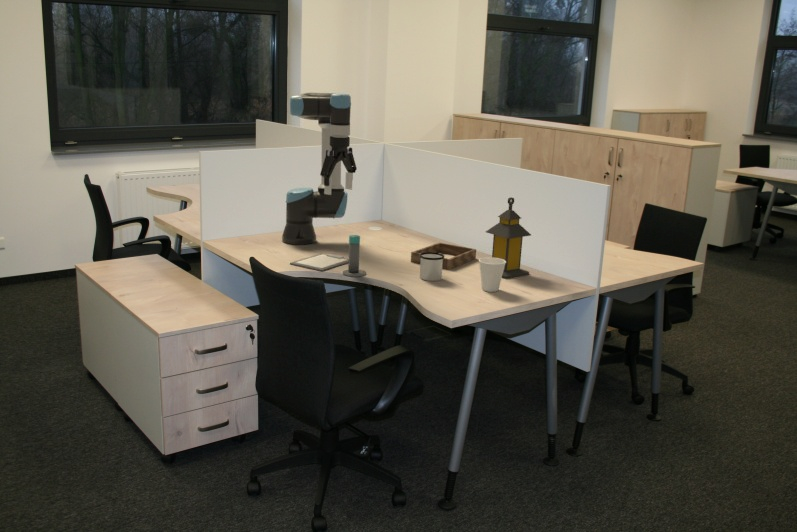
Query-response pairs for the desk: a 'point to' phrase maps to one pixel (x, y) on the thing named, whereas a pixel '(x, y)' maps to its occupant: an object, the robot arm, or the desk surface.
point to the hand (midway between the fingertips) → (338, 191)
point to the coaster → (361, 273)
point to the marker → (354, 253)
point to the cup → (491, 273)
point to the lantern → (509, 242)
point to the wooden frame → (460, 252)
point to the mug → (431, 266)
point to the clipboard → (321, 262)
